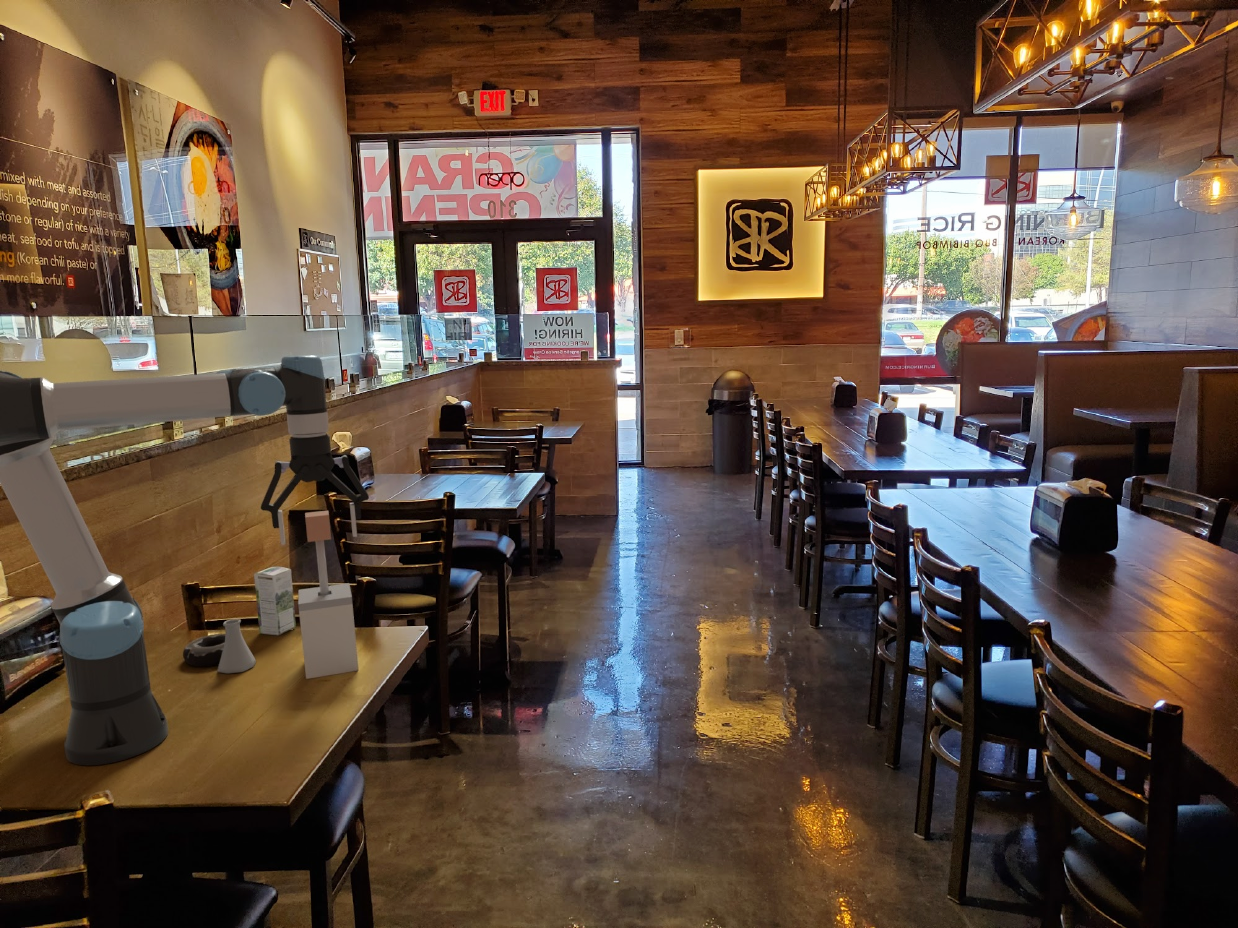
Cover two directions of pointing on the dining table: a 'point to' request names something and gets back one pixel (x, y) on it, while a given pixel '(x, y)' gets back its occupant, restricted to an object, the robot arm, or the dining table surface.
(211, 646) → the donut
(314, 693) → the dining table surface
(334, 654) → the slotted white box
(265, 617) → the syrup box
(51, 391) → the robot arm
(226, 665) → the flask
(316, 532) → the pump plunger
